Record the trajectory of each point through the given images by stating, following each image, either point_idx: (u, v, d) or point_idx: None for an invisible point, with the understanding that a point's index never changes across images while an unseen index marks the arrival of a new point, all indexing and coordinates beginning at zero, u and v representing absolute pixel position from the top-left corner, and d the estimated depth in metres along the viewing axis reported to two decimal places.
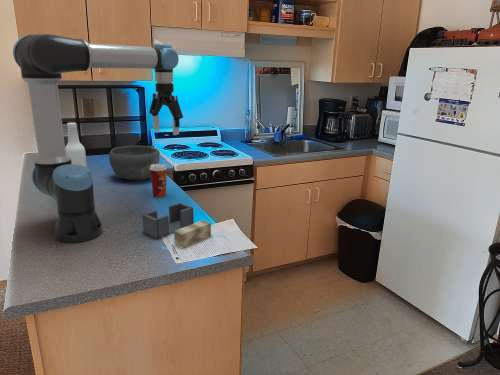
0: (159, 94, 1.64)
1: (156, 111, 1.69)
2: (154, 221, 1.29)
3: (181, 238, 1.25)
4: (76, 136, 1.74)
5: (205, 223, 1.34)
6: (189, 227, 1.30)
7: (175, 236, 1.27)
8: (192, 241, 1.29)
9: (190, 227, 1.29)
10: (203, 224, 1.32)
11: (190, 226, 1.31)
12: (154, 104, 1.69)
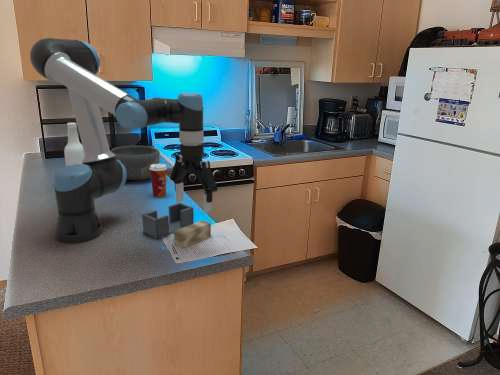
0: (184, 158, 1.23)
1: (180, 178, 1.28)
2: (154, 221, 1.29)
3: (181, 238, 1.25)
4: (76, 136, 1.74)
5: (205, 223, 1.34)
6: (189, 227, 1.30)
7: (175, 236, 1.27)
8: (192, 241, 1.29)
9: (190, 227, 1.29)
10: (203, 224, 1.32)
11: (190, 226, 1.31)
12: (177, 169, 1.28)
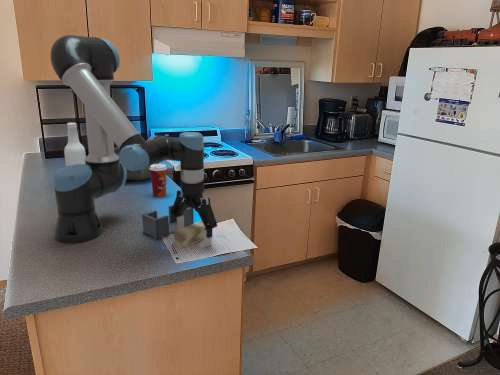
0: (185, 194, 1.27)
1: (181, 212, 1.32)
2: (154, 221, 1.29)
3: (181, 238, 1.25)
4: (76, 136, 1.74)
5: None
6: (189, 227, 1.30)
7: (175, 236, 1.27)
8: (192, 241, 1.29)
9: (190, 227, 1.29)
10: (203, 224, 1.32)
11: (190, 226, 1.31)
12: (178, 203, 1.32)
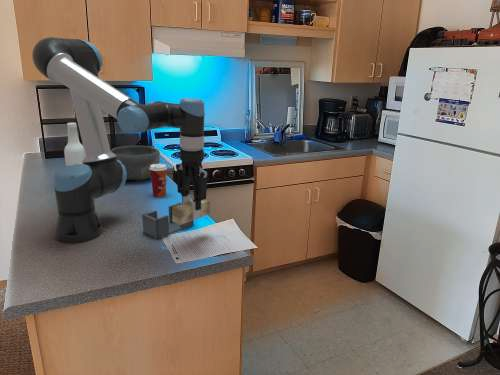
0: None
1: (186, 188, 1.27)
2: (154, 221, 1.29)
3: (179, 214, 1.22)
4: (76, 136, 1.74)
5: (204, 200, 1.31)
6: (187, 204, 1.27)
7: (173, 212, 1.24)
8: (190, 218, 1.26)
9: (188, 204, 1.27)
10: (202, 201, 1.30)
11: (189, 203, 1.28)
12: (181, 178, 1.28)
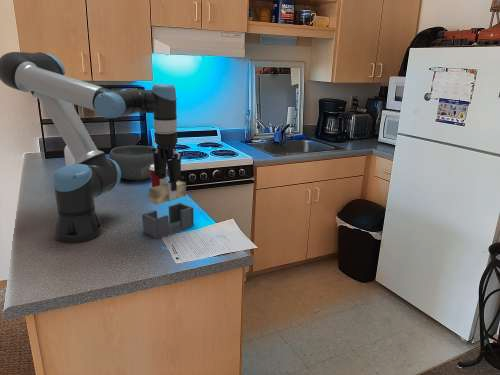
0: (158, 144, 1.31)
1: (162, 171, 1.34)
2: (154, 221, 1.29)
3: (155, 195, 1.29)
4: None
5: (180, 182, 1.38)
6: (164, 185, 1.34)
7: (150, 193, 1.31)
8: (167, 199, 1.33)
9: (165, 186, 1.33)
10: (178, 183, 1.36)
11: (165, 184, 1.35)
12: (157, 161, 1.34)
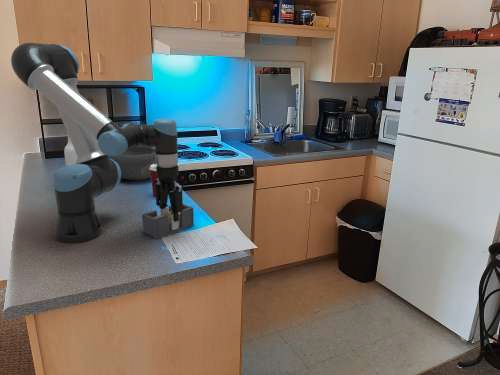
0: None
1: (163, 201, 1.37)
2: (154, 221, 1.29)
3: None
4: None
5: None
6: (165, 215, 1.37)
7: None
8: None
9: None
10: (179, 212, 1.40)
11: (167, 214, 1.38)
12: (159, 192, 1.38)
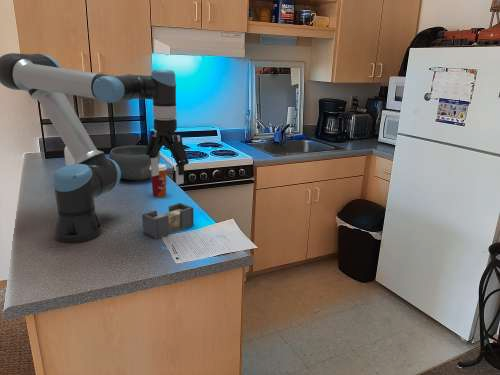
0: (158, 132, 1.29)
1: (154, 152, 1.34)
2: (154, 221, 1.29)
3: None
4: None
5: None
6: (165, 215, 1.37)
7: None
8: None
9: None
10: (179, 212, 1.40)
11: (167, 214, 1.38)
12: (152, 143, 1.34)
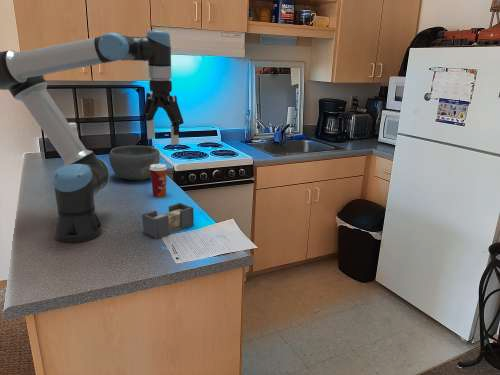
0: (154, 94, 1.33)
1: (150, 115, 1.38)
2: (154, 221, 1.29)
3: None
4: None
5: None
6: (165, 215, 1.37)
7: None
8: None
9: None
10: (179, 212, 1.40)
11: (167, 214, 1.38)
12: (148, 106, 1.37)
